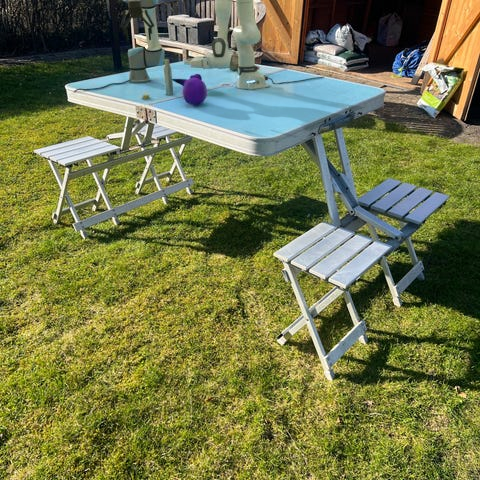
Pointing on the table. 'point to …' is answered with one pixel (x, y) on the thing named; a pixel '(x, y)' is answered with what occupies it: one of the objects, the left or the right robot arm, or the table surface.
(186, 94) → the toy
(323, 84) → the table surface
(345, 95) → the table surface
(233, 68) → the teapot
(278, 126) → the table surface
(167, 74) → the bottle
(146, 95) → the cap
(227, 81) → the table surface
